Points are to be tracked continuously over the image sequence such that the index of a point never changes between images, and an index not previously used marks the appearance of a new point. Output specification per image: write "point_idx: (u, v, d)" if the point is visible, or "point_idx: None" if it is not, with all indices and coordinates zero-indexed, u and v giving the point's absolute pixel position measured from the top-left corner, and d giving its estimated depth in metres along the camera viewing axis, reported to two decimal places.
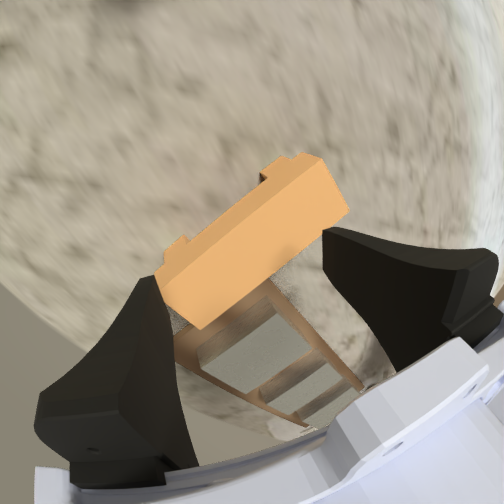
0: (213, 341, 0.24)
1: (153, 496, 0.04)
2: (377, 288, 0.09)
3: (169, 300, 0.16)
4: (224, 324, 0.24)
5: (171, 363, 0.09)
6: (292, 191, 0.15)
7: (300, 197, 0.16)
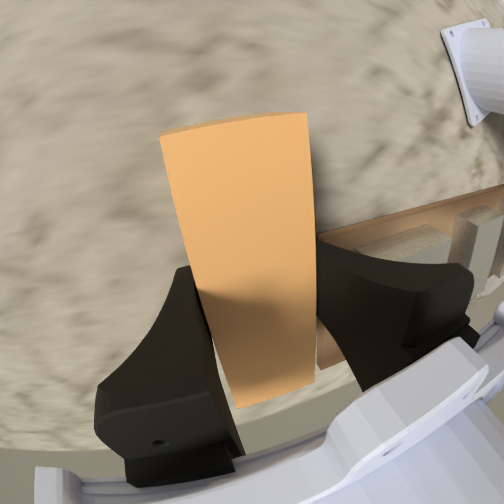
0: None
1: (153, 496, 0.04)
2: (340, 303, 0.09)
3: (254, 400, 0.12)
4: None
5: (213, 352, 0.10)
6: (196, 219, 0.08)
7: (216, 208, 0.08)
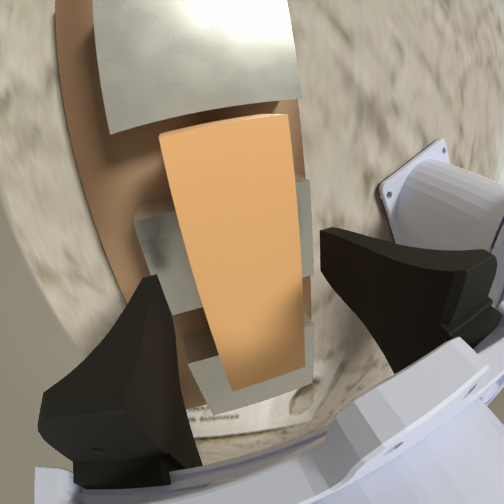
0: None
1: (153, 496, 0.04)
2: (375, 289, 0.09)
3: (248, 383, 0.13)
4: None
5: (174, 362, 0.09)
6: (191, 209, 0.09)
7: (209, 200, 0.09)
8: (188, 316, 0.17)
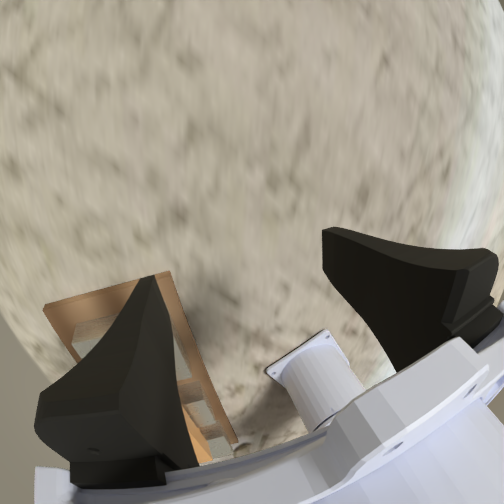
0: (95, 323, 0.19)
1: (153, 496, 0.04)
2: (377, 288, 0.09)
3: None
4: (112, 311, 0.20)
5: (171, 363, 0.09)
6: None
7: None
8: None
